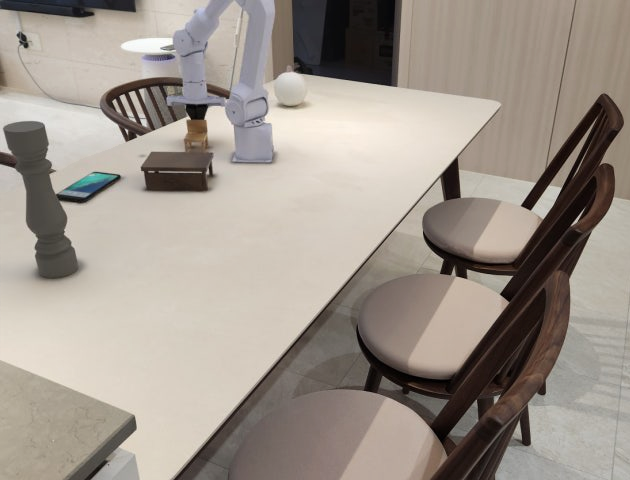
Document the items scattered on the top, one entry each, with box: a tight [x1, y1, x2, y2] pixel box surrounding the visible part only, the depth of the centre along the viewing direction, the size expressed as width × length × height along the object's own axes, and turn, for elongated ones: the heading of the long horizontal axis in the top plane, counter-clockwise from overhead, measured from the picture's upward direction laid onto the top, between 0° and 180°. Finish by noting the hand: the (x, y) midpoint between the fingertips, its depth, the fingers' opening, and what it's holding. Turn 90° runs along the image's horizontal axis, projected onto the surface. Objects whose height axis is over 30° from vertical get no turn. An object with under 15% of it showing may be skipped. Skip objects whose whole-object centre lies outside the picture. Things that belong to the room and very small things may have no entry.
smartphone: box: [55, 171, 122, 203], centre depth 139 cm, size 7×1×15 cm
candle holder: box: [2, 120, 79, 279], centre depth 103 cm, size 6×6×25 cm
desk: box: [140, 151, 214, 192], centre depth 143 cm, size 14×10×6 cm
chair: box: [183, 119, 209, 152], centre depth 161 cm, size 5×6×7 cm
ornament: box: [273, 65, 308, 107], centre depth 199 cm, size 10×10×12 cm
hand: (199, 133), depth 166 cm, fingers closed, pressing on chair
